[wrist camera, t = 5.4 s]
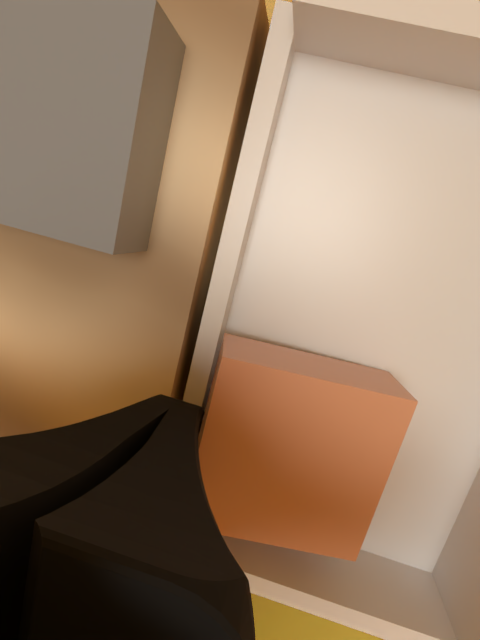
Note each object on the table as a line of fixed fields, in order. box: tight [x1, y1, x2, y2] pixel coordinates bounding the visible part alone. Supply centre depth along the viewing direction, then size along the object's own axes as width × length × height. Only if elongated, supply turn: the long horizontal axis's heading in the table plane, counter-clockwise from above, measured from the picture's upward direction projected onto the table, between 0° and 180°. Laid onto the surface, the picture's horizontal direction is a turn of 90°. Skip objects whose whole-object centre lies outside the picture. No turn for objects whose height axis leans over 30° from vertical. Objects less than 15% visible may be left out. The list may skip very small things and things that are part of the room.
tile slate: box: [0, 0, 186, 255], centre depth 10 cm, size 5×5×2 cm
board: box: [0, 0, 269, 437], centre depth 12 cm, size 15×8×2 cm, turn 166°
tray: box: [183, 0, 480, 640], centre depth 11 cm, size 15×10×4 cm, turn 166°
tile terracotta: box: [198, 333, 418, 562], centre depth 11 cm, size 5×5×2 cm
